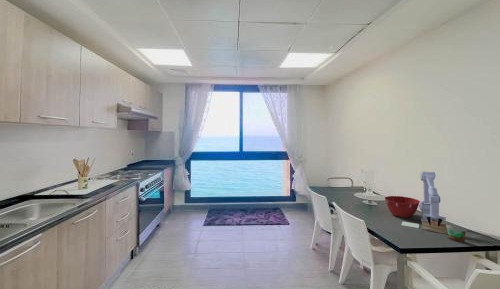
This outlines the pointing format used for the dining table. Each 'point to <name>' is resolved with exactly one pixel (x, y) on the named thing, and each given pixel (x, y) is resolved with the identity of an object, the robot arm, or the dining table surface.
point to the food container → (456, 233)
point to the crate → (434, 227)
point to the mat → (410, 225)
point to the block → (434, 223)
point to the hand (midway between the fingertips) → (434, 227)
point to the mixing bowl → (402, 206)
